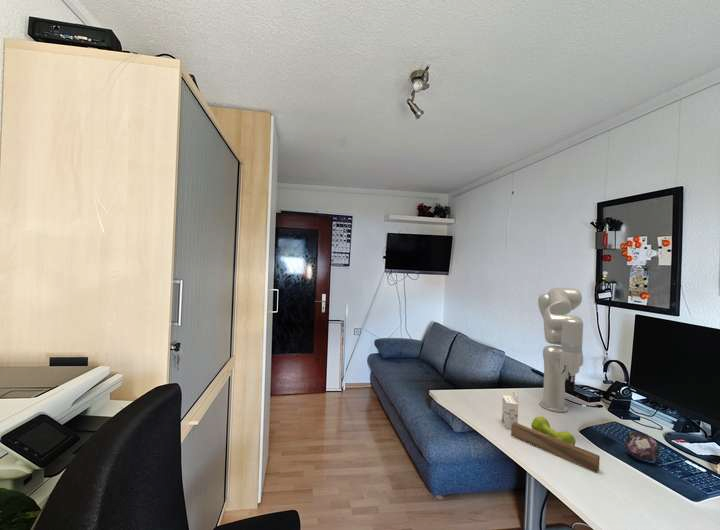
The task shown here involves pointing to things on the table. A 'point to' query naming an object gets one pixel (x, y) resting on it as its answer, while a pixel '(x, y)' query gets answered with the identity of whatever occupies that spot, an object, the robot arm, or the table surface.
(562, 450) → the walnut board
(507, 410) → the ink cartridge box
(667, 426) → the table surface
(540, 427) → the dumbbell
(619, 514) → the table surface
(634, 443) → the mineral specimen
